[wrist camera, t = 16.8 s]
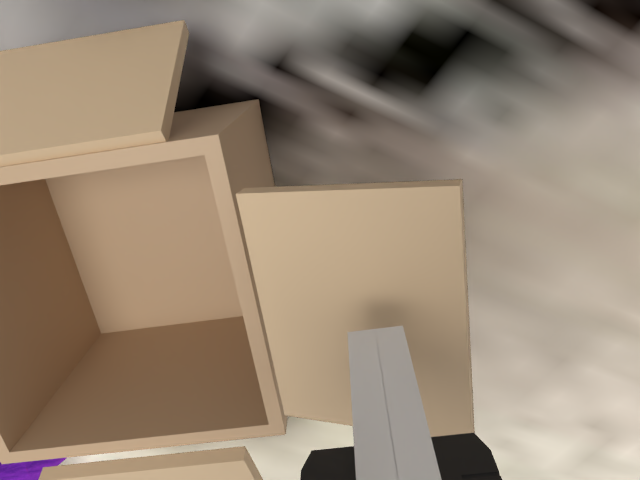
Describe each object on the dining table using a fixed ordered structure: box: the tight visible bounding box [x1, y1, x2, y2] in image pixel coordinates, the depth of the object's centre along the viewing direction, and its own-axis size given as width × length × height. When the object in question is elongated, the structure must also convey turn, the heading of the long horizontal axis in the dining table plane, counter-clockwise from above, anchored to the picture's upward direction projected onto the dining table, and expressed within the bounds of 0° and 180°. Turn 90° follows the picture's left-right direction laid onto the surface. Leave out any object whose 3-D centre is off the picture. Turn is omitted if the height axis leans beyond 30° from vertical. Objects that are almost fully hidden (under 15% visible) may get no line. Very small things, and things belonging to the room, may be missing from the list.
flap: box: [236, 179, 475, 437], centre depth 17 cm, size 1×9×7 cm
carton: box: [0, 20, 288, 464], centre depth 23 cm, size 16×16×10 cm
